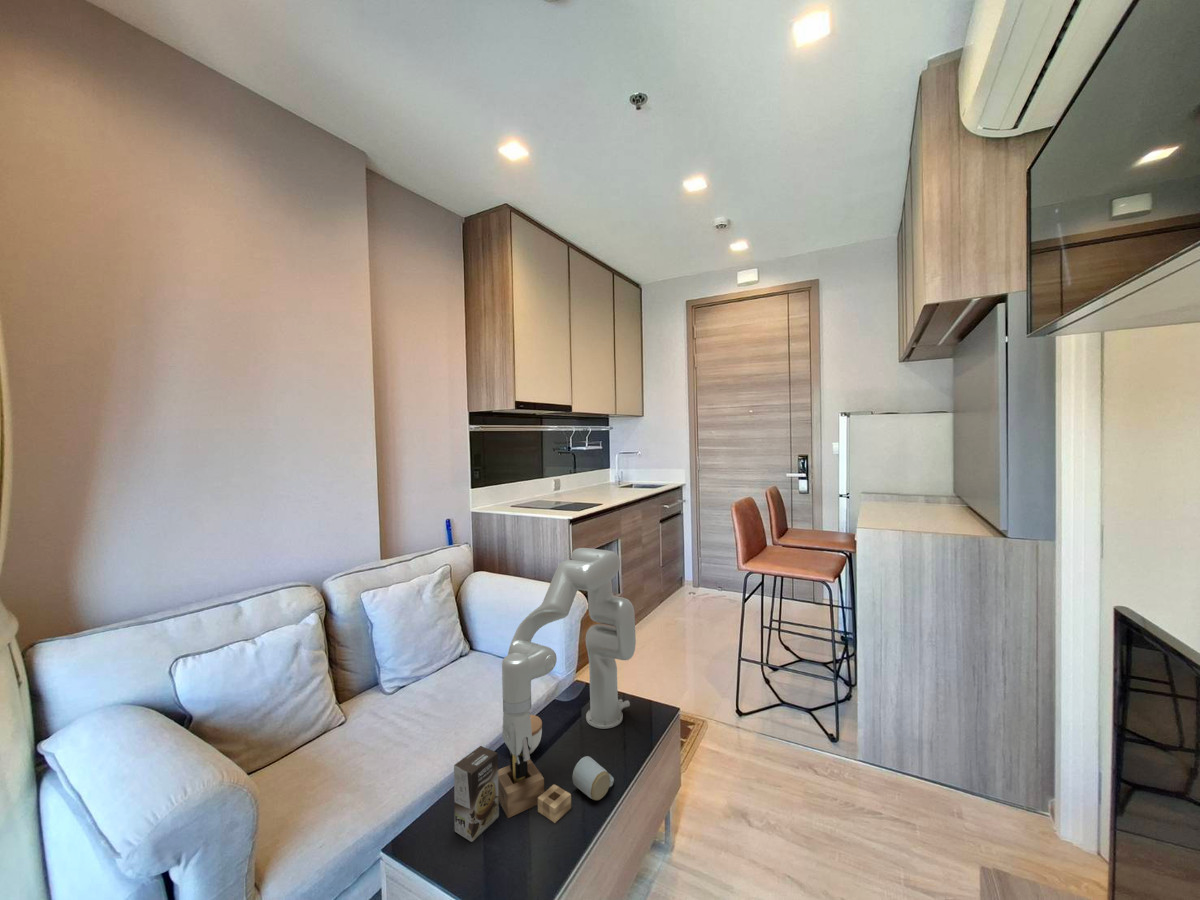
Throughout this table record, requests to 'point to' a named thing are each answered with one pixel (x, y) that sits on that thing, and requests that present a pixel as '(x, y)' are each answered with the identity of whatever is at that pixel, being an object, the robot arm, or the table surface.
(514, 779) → the tan cylindrical rod
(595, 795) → the ceramic mug
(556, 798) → the loose bead
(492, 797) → the coffee box
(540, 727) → the lidded jar
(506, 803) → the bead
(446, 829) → the table surface
